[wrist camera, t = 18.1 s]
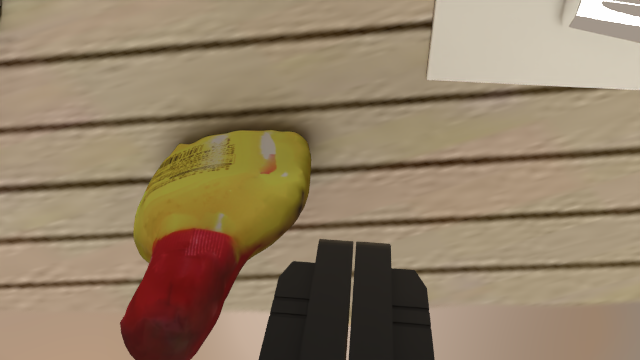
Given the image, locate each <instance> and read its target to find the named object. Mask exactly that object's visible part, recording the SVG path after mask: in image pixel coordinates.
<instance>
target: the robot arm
mask: <svg viewBox="0 0 640 360" xmlns="http://www.w3.org/2000/svg"><path fill="white" fill-rule="evenodd" d="M0 4H1V1H0ZM352 257H353V241H340V240H326V239H320V240H319V244H318V250H317V256H316V262H315V263H310V262H296V261H293V262H292V263H291V264H290V265H289V266H288V267H287V269H286V270H285V271H284V272H283V273H282V274H281V275H280V276H279V279H278V283H277V287H276V291H275V295H274V300H273V303H272V307H271V312H270V316H269V320H268V324H267V328H266V332H265V336H264V340H263V344H262V348H261V352H260V356H259V360H346V351H347V337H348V323H349V308H350V291H351V274H352ZM350 333H351V334H350V349H349V360H434V351H433V341H432V332H431V323H430V313H429V304H428V295H427V288H426V286H425V285H424V283H423V282H422V280H421V279H420V277H419V276H418V274H417V273H416V271H415V270H406V269H392V268H391V245H390V244H384V243H370V242H356V256H355V271H354V286H353V302H352V317H351V332H350Z"/></svg>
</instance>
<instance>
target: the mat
mask: <svg viewBox="0 0 640 360" xmlns="http://www.w3.org/2000/svg"><path fill="white" fill-rule="evenodd" d="M564 3H565V0H435V7H434V16H433V24H432V32H431V41H430V49H429V57H428V66H427V74H426V79H427V80H440V81H461V82H482V83H503V84H523V85H544V86H565V87H586V88H607V89H628V90H640V46H639V45H635V44H630V43H626V42H622V41H617V40H613V39H608V38H604V37H600V36H595V35H591V34H586V33H582V32H578V31H573V30H569V29H565V28H563V22H562V14H563V8H564Z"/></svg>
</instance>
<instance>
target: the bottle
mask: <svg viewBox="0 0 640 360" xmlns="http://www.w3.org/2000/svg"><path fill="white" fill-rule="evenodd" d="M310 173H311V154H310V150H309V146H308V143H307V141H306V140H305V139H304V138H303V137H302V136H300V135H299V134H297V133H295V132H280V131H274V130H265V131H244V130H241V131H234V132H230V133H226V134H219V135H212V136H207V137H204V138H202V139H200V140H198V141H196V142H195V143H192V144H179V145H177V147H176V148H175V150H174V151H173V152H172V153H171V155H170V156H169V157H168V158H167V159H165V160H164V162H163V163H162V164H161V166H160V168H159V169H158V170H157V171H156V173H155V175H154V176H153V178H152V179H151V181H150V183H149V185H148V187H147V189H146V191H145V193H144V196H143V198H142V200H141V202H140V204H139V206H138V209H137V212H136V216H135V223H134V241H135V244H136V247H137V249H138V251H139V253H140V255H141V256H142V257H143V259H145V260H146V261H147V262H148V263H149V266H148V268H147V271H146V273H145V275H144V278H143V280H142V282H141V284H140V285H139V287H138V289H137V290H136V292H135V294H134V296H133V298H132V300H131V301H130V303H129V305H128V308H127V310H126V313H125V316H124V317H123V319H122V320H121V322H120V325H121V334H122V337H123V340H124V343H125V346H126V348H127V349H128V351H129V353H130V354H131V356H133V358H134V359H135V360H190V359H192V357H193V356H194V355H195V354H196V353H197V351H198V350H199V348H200V347H201V345H202V344H203V342H204V341H205V339H206V338H207V336H208V335H209V333H210V332H211V330H212V328H213V327H214V325H215V323H216V322H217V320H218V318H219V315H220V313H221V310H222V307H223V304H224V301H225V299H226V297H227V296H228V294H229V292H230V290H231V287H232V285H233V283H234V281H235V279H236V277H237V275H238V274H239V272H240V270H241V269H242V267H243V266H244V264H245V263H246V262H247V260H249V259H250V258H251V257H253V256H254V255H256V254H258V253H260V252H261V251H263V250H264V249H266V248H268V247H269V246H270V245H272V244H273V243H274V242H275V241H276V240H278V239H279V238H280V237H281V236H282V235H283V234H284V233H285V232H286V231H287V230H288V229H289V228H290V227H291V226H292V225H293V224H294V223H295V221H296V220H297V219H298V217H299V215H300V213H301V212H302V210H303V208H304V206H305V204H306V200H307V197H308V193H309V186H310Z"/></svg>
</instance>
